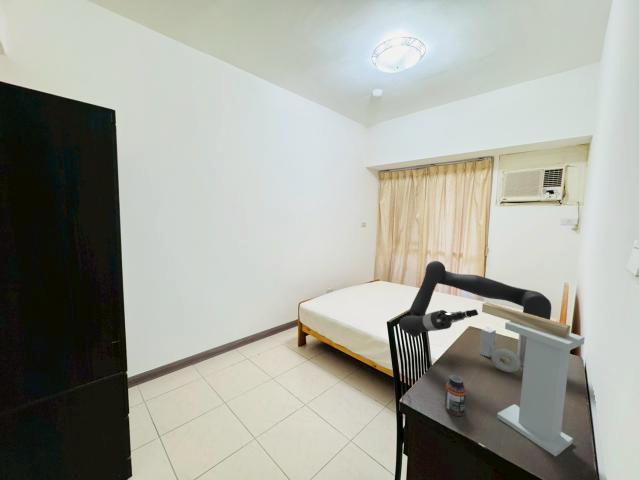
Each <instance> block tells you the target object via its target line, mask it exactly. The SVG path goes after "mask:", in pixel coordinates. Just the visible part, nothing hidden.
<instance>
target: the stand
mask: <svg viewBox="0 0 639 480" xmlns="http://www.w3.org/2000/svg"><path fill="white" fill-rule="evenodd" d="M504 329H505V330H507V331H510V332H514V333H515V334H518V335H519V334H521V335H524V336H526V337H527V339H526V349H525V359H524V367H523V371H522V372H523V373H522V379H521V391H520V393H521V394H520V401H519V402H520V403H519V406H518V405H517V404H515V403H514V404H512V405H510V406H508V407H506V408H504V409H503V410H500V411H498V412H497V413H496V415H497V416H496V418H497V419H498V420H500V421H501V422H503V423H505V424H506V425H507V426H509V427H511V429H513V430H515V431H517V433H520V435H523V436H524V437H525V438H527V439H529V440H530V441H532V442H533V443H535V444H536V445H538V446H539V447H541V448H542V449H544V450H545V451H547V452H548V453H549V454H551V455H553V456H554V457H557V456H558V455H560V454H561V453H562V452H563V451H565V449H567V448H568V447H570V446H571V445H572V444H573V439H574V438H573V437H571V436H570V435H568V434H566V433H564V432H562V428H563V426H562V425H563V416H564V410H565V408H564V407H565V400H566V399H565V398H566V392H567V391H566V389H567V383H568V372H569V365H570V356H571V350H573V349H576V348H578V347H580V346H583V345H584V344H585V337H584V336H582V335H579V334H577V333H573V332H570V334H569V336H568V337H566V338H563V337H560V336H557V335H554V334H550V333H547V332H544V331H541V330H538V329H535V328H531V327H528V326H525V325H522V324H519V323H516V322H512V321H507V322H505V326H504Z"/></svg>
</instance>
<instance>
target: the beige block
mask: <svg viewBox="0 0 639 480" xmlns="http://www.w3.org/2000/svg"><path fill="white" fill-rule="evenodd" d="M481 312H482V313H485V314H488V315H489V316H490V315H491V316H494V317H497V318H500V319H503V320H506V321H508V322H510V321H512V322H516V323H519V324H522V325H525V326H528V327H531V328H535V329H538V330H541V331H544V332H547V333H550V334H554V335H557V336H560V337H563V338H566V337H568V336H569V334H570V333H571V325H570V324H565V323H562V322H558V321H555V320H552V319H550V320H548V319H545V318H541V317H538V316H534V315H531V314H527V313H523V311H519V310H515V309H512V308H510V307H509V308H508V307H505V306H501V305H498V304H495V303H491V302H484V303H482V307H481Z"/></svg>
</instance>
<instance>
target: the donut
mask: <svg viewBox="0 0 639 480" xmlns="http://www.w3.org/2000/svg"><path fill="white" fill-rule="evenodd" d="M503 357H505V358H507V359H509V363H505V362H504V361H502V358H503ZM490 358H491V361H492V363H493V365H494V366H495V368H497V369H498V370H500V371H503V372H505V373H515V372H517V371H518V370H519V369H520V367H521V365H520V360H519V358H518V356H517V354H516V353H515V352H513V351H512V350H511V349H508V348H502V347H501V348H496V349H495V350H494V351H493V353H492V355H491V356H490Z"/></svg>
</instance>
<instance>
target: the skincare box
mask: <svg viewBox="0 0 639 480" xmlns="http://www.w3.org/2000/svg"><path fill="white" fill-rule="evenodd" d="M496 332H497V330H496V329H494V328H490V327H487V326H486V327H484V328H482V329H481V330H480V343H479V354H480V355H482V356H484V355H485V356H484V357H486V356H487V358H491V355H492V353H493V351H494V350H496V349H495V348H496V336H497V335H496Z"/></svg>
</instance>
